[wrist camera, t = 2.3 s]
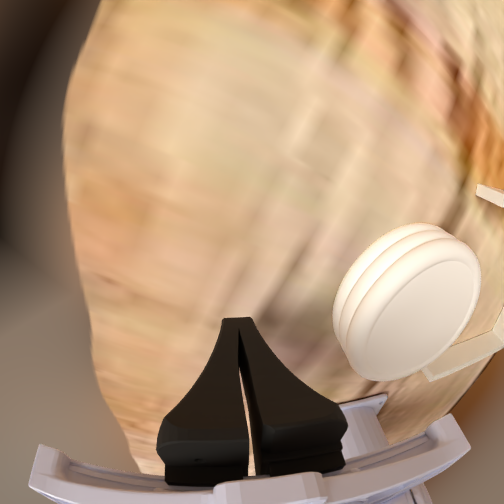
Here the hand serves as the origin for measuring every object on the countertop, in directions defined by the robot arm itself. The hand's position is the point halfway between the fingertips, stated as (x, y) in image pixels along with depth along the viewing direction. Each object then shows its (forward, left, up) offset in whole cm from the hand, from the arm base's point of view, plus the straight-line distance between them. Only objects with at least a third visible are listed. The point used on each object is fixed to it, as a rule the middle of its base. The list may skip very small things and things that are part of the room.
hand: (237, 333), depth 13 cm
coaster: (0, -11, -2) cm, 11 cm away
